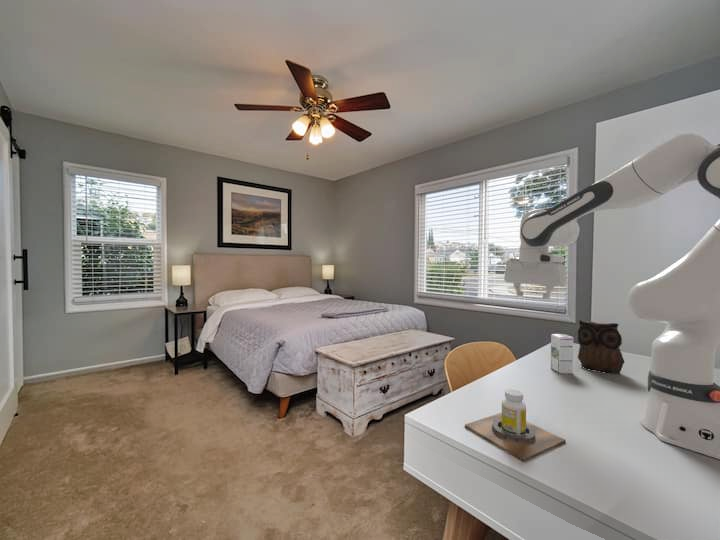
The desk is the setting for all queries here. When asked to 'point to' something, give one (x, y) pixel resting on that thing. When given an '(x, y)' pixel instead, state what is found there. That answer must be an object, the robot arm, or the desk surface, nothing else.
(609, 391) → the desk surface
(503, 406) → the supplement bottle
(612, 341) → the owl
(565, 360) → the syrup box
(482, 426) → the board
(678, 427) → the robot arm
